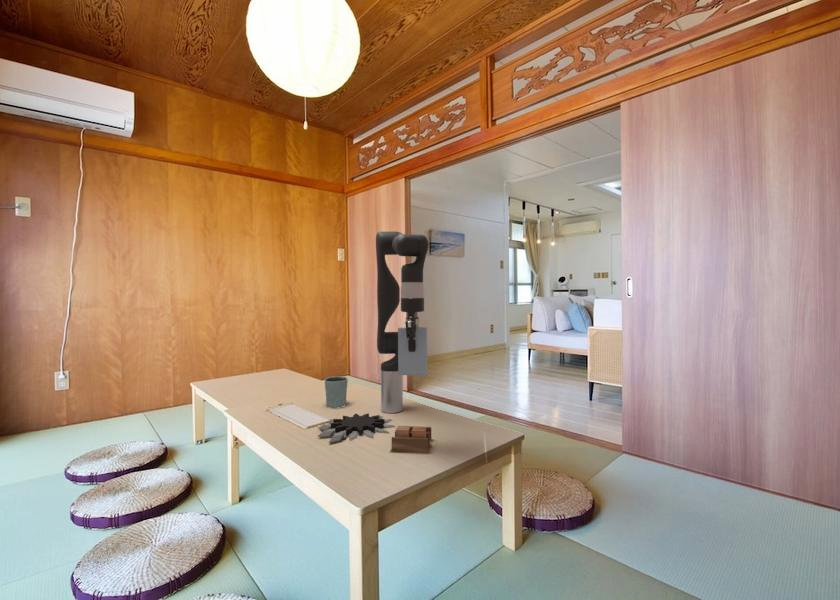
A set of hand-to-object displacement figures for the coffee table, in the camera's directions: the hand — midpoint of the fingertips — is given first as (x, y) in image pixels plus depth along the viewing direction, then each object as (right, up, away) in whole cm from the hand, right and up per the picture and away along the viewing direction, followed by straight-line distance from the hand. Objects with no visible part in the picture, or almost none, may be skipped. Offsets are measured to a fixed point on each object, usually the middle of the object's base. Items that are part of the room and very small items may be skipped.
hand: (412, 350), depth 123 cm
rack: (0, -31, -3) cm, 31 cm away
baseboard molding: (-48, -32, +31) cm, 65 cm away
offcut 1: (-3, -30, -4) cm, 30 cm away
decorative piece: (-20, -32, +15) cm, 40 cm away
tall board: (0, -8, 0) cm, 8 cm away
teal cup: (-35, -31, +48) cm, 67 cm away
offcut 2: (+2, -30, -5) cm, 30 cm away
